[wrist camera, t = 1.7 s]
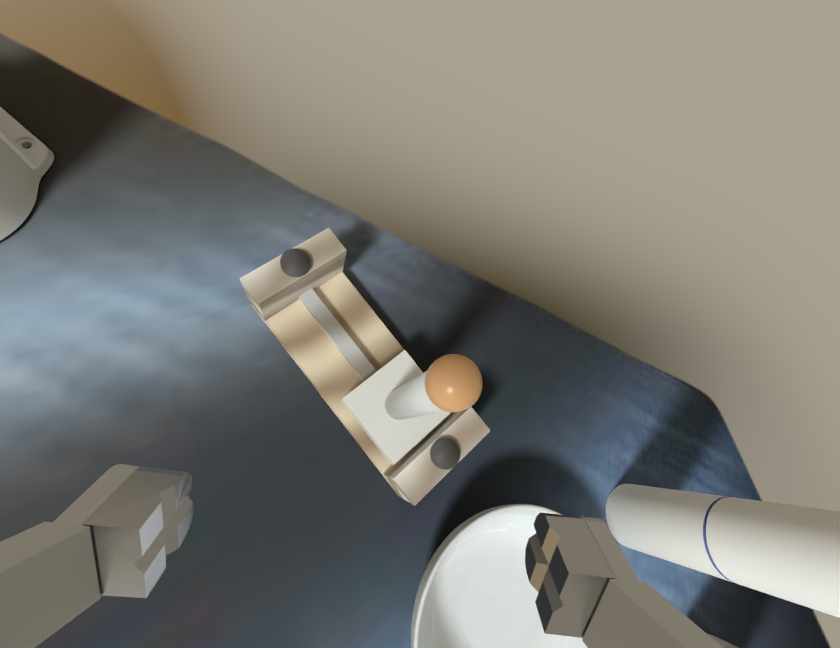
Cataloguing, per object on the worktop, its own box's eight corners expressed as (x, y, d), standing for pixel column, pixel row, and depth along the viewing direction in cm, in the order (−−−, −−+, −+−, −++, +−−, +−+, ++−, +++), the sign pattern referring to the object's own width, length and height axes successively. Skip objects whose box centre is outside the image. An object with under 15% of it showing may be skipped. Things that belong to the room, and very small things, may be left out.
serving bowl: (359, 686, 36) (370, 740, 29) (445, 464, 43) (468, 468, 37) (551, 764, 38) (599, 829, 32) (600, 539, 46) (647, 555, 39)
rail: (250, 303, 43) (238, 276, 36) (326, 257, 46) (328, 225, 40) (398, 495, 41) (416, 506, 34) (464, 432, 45) (492, 430, 38)
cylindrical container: (601, 485, 48) (877, 527, 24) (648, 481, 49) (948, 517, 26) (611, 551, 46) (922, 665, 22) (660, 544, 47) (995, 643, 24)
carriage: (341, 400, 40) (367, 366, 22) (400, 353, 43) (468, 289, 25) (389, 463, 39) (459, 482, 21) (446, 411, 42) (550, 390, 24)
